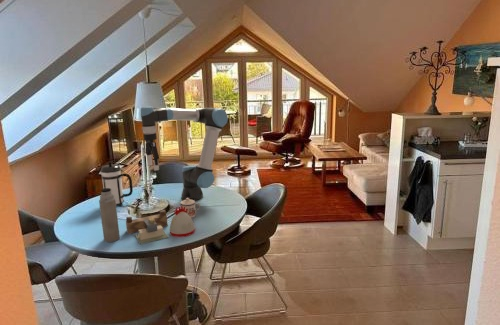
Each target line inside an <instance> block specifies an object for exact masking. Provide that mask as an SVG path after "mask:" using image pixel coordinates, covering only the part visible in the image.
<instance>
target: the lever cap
mask: <svg viewBox="0 0 500 325" xmlns="http://www.w3.org/2000/svg"><path fill="white" fill-rule="evenodd" d="M144 228H145V229H146V231H147V232H148V233H149V232H154V231H157V223H156V222H155V220H154V218H153V217H152V218H148V220H144Z"/></svg>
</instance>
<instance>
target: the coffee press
mask: <svg viewBox="0 0 500 325" xmlns="http://www.w3.org/2000/svg"><path fill="white" fill-rule="evenodd" d="M121 171H122V167H121V166H120V165H118V164H116V163H115V164H113V162H112V161H108V164H105V165H103V166H102V167H101V169H100V171H99V173H98V175H101V182H102V187H103V188H102V189H105V188H110V189H111V193H112V194H113V195H114V198H115V201H116V205H119V206H120V207H123V206H124V205H123V202H125V198H127V197H130V196H131V195H132V194H133V190H134V189H133V180H132V176H131V175H130V174H128V173H122V172H121ZM122 177H126V178H127V179H128V184H129V193H124V190H123V180H122ZM124 197H125V198H124Z"/></svg>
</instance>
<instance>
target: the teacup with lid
mask: <svg viewBox="0 0 500 325" xmlns="http://www.w3.org/2000/svg"><path fill="white" fill-rule="evenodd" d="M196 205H197V206H198V207H197V209H196ZM181 206H182V207H183V208H184V207H185V211H186V209H188V210H187V214H189V216H190V217H191V218H192V219H193V218H196V214H197V213H196V212H197V211H199V210H200V207H201V205H200V203H198V202H196V200H191V199H189V198H186V200H181V201H180V207H181Z"/></svg>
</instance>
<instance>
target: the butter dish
mask: <svg viewBox="0 0 500 325" xmlns="http://www.w3.org/2000/svg"><path fill="white" fill-rule="evenodd" d="M134 237H135V238H136V240H137V242H138V243H139V245H143V244H147V243H152V242H156V241H161V240H164V239H168V238H169V236H168V235H167V233H166V232H165V231H164V226H163V227H162V226H161V225H159V226H157V231H154V232H149V233H148V232H147V231H146V229H141V230H139V232H138V234H135V235H134Z"/></svg>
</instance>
